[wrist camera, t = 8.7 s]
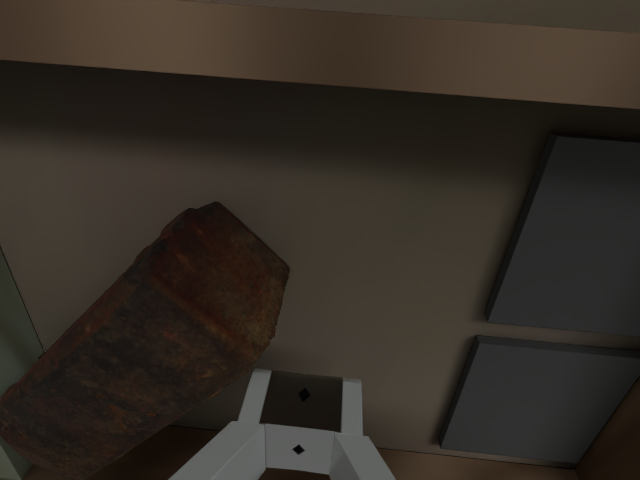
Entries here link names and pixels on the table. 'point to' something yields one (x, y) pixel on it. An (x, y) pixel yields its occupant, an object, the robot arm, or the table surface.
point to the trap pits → (559, 309)
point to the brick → (149, 346)
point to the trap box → (326, 69)
